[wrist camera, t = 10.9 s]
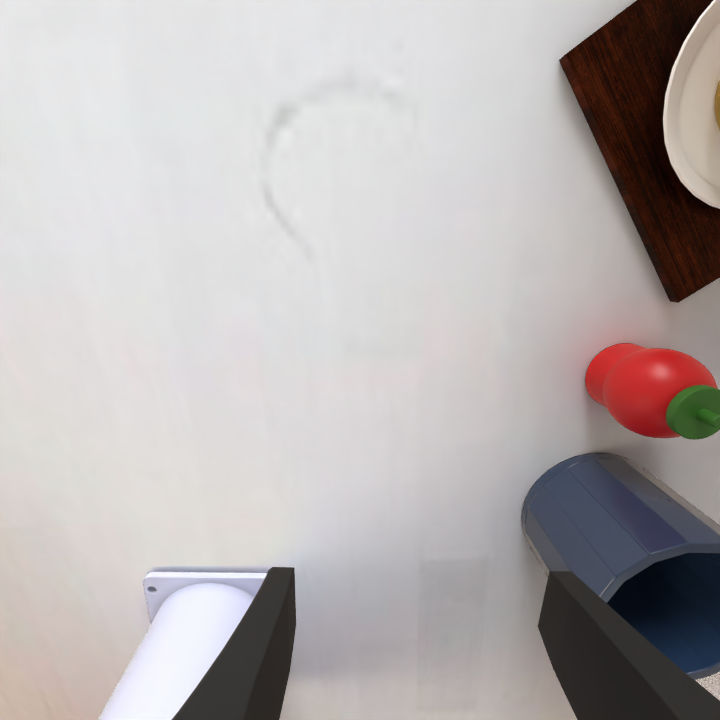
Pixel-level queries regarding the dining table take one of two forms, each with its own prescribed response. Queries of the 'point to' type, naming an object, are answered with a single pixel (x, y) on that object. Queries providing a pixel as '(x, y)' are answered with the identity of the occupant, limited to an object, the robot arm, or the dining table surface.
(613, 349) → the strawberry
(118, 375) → the dining table surface
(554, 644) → the robot arm
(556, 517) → the tumbler
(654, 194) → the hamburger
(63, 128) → the dining table surface
